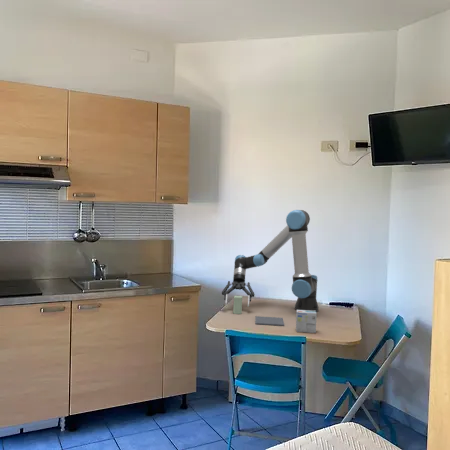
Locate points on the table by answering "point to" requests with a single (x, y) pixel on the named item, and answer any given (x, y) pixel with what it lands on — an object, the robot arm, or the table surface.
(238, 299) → the sage block
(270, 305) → the table surface
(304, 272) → the robot arm
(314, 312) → the light bulb box
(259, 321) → the mat
